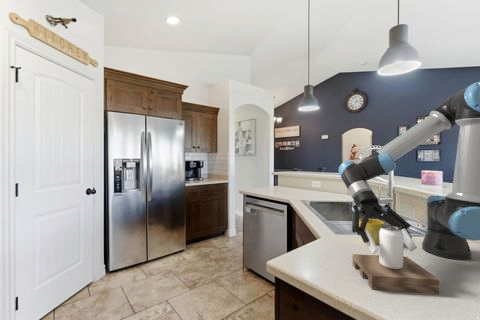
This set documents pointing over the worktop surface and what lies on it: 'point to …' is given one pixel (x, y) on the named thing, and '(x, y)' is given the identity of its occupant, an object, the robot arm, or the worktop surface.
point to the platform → (395, 275)
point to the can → (391, 247)
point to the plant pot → (373, 229)
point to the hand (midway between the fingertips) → (394, 250)
